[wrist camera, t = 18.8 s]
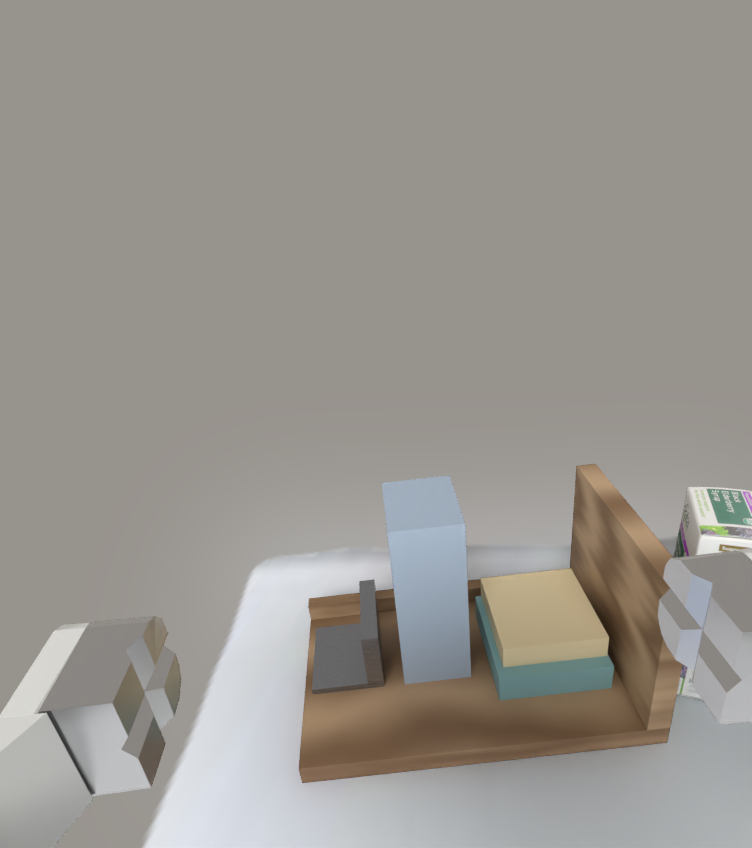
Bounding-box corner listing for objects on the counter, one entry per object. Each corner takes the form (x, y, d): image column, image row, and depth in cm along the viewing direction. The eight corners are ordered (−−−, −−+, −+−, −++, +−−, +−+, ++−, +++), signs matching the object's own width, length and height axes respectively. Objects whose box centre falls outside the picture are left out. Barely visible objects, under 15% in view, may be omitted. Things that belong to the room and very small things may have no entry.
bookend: (384, 686, 41) (377, 637, 38) (312, 694, 41) (302, 646, 38) (380, 625, 46) (374, 579, 44) (317, 632, 46) (307, 587, 44)
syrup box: (656, 634, 44) (681, 482, 38) (741, 648, 42) (782, 490, 36) (665, 694, 39) (695, 532, 33) (761, 713, 37) (812, 544, 31)
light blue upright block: (456, 616, 46) (449, 475, 40) (471, 677, 41) (465, 523, 35) (398, 623, 46) (381, 483, 40) (404, 684, 41) (387, 532, 35)
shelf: (667, 742, 36) (697, 587, 30) (302, 782, 36) (263, 635, 30) (584, 593, 49) (595, 463, 43) (314, 623, 49) (288, 498, 43)
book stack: (611, 688, 39) (616, 647, 37) (499, 700, 39) (499, 660, 37) (569, 604, 46) (572, 568, 44) (475, 615, 46) (474, 579, 44)
